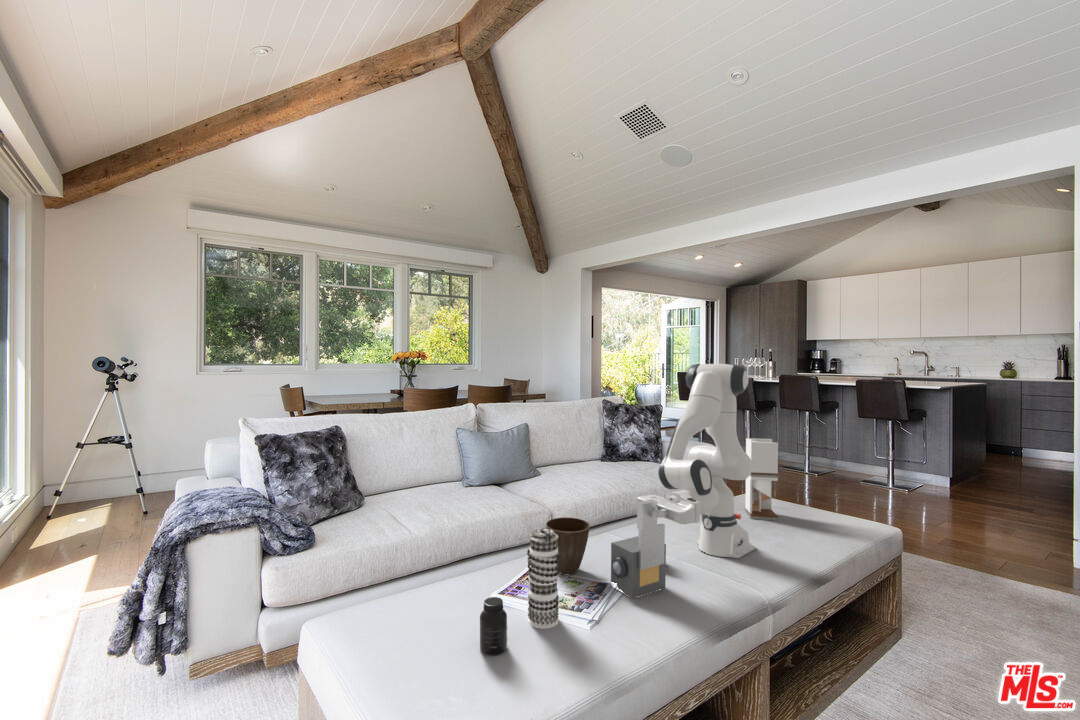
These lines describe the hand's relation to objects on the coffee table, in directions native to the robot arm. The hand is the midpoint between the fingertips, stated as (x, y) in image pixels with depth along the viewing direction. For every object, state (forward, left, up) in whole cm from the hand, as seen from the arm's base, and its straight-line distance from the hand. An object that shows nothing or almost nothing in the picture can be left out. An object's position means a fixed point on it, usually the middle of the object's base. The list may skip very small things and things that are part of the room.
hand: (646, 512), depth 159 cm
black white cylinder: (+35, -4, -26) cm, 44 cm away
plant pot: (+10, -28, -26) cm, 39 cm away
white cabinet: (-102, -32, -26) cm, 110 cm away
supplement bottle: (+53, +1, -26) cm, 59 cm away
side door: (-2, 0, -17) cm, 17 cm away
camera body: (-2, -6, -26) cm, 26 cm away
